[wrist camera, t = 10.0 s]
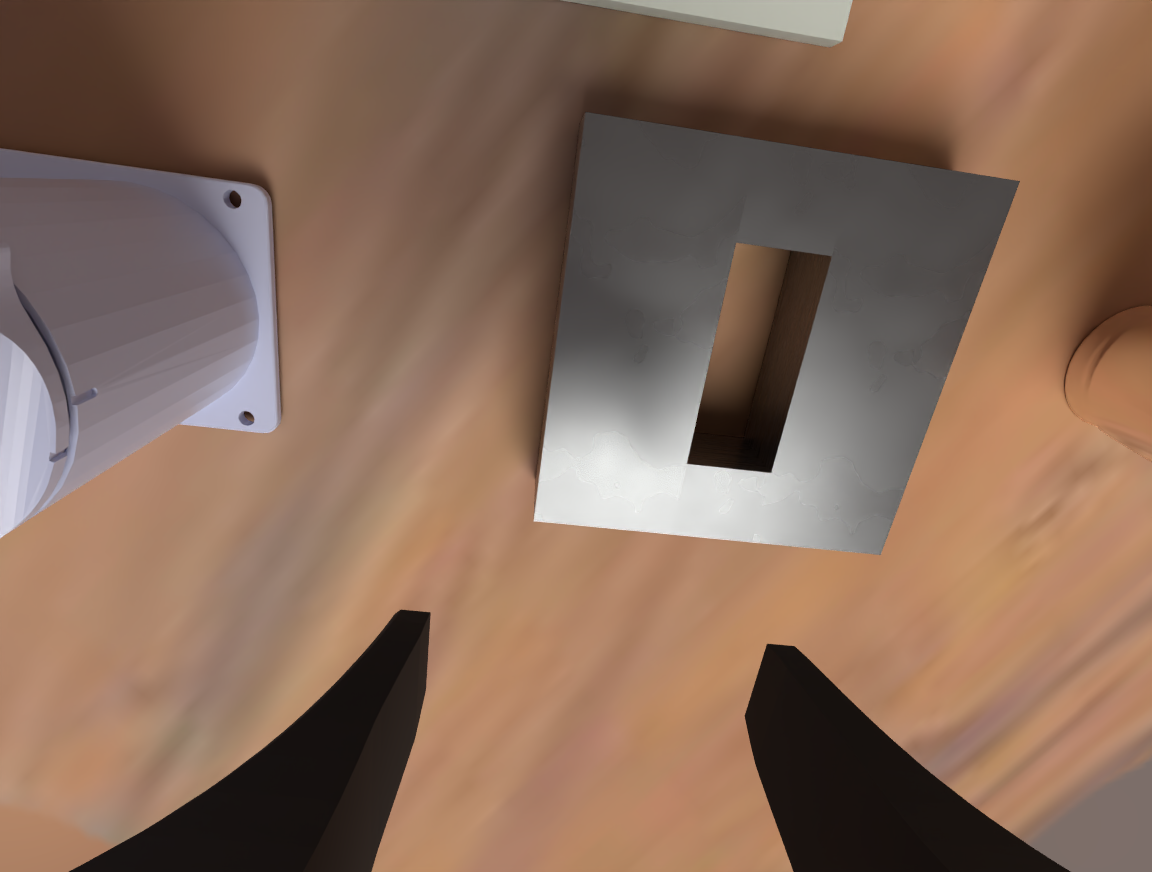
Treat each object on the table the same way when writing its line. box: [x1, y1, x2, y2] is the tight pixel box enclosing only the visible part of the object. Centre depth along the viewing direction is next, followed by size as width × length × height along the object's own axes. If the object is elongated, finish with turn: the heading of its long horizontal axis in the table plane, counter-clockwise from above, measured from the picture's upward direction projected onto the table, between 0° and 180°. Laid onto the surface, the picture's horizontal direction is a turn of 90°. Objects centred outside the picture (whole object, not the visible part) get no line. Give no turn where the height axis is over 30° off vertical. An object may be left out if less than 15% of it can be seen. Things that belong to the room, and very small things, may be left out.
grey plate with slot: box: [534, 112, 1020, 555], centre depth 20 cm, size 12×12×3 cm
